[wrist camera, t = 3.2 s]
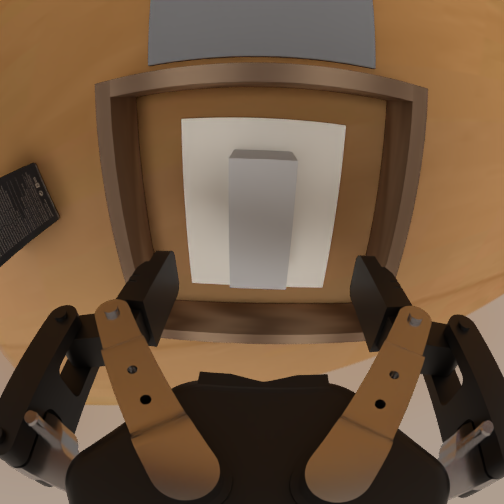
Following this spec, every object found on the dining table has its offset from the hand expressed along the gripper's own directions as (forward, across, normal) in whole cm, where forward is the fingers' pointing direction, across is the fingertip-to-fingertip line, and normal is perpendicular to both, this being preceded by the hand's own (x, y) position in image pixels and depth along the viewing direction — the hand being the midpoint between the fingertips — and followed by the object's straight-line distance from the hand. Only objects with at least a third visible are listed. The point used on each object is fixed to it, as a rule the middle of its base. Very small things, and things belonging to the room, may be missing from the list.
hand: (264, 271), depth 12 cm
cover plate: (+8, 0, 0) cm, 8 cm away
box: (+7, +21, -1) cm, 23 cm away
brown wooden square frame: (+7, 0, 0) cm, 7 cm away
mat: (+7, 0, -17) cm, 18 cm away
